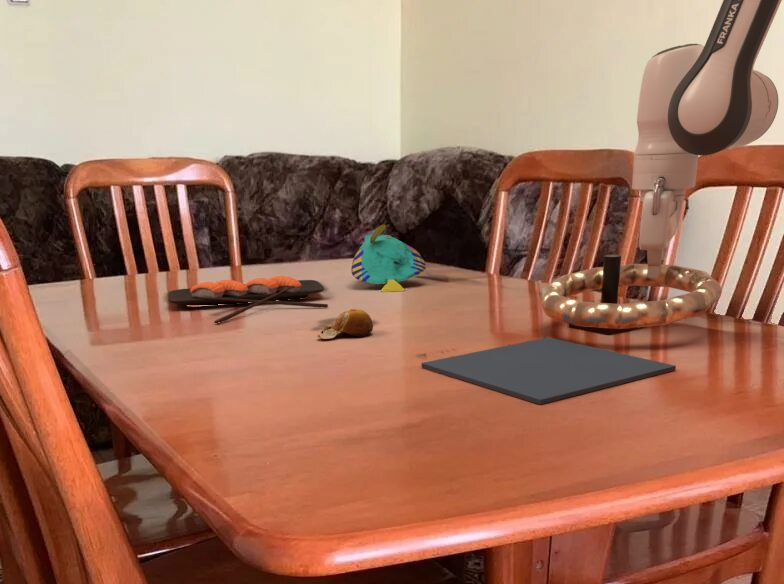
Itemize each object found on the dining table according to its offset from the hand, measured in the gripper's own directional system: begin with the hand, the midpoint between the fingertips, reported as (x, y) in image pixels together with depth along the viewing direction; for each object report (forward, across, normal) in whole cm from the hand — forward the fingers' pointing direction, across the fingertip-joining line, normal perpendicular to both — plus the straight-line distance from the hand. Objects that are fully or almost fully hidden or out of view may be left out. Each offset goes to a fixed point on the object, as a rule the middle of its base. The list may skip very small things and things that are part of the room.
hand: (655, 274), depth 125 cm
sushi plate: (+6, -2, +71) cm, 71 cm away
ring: (+1, -10, +3) cm, 11 cm away
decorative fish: (+6, +26, +54) cm, 60 cm away
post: (+6, -8, +6) cm, 12 cm away
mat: (+6, -34, +9) cm, 36 cm away
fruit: (+6, -20, +44) cm, 49 cm away
